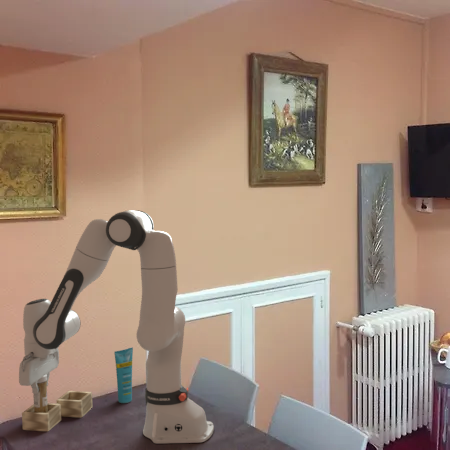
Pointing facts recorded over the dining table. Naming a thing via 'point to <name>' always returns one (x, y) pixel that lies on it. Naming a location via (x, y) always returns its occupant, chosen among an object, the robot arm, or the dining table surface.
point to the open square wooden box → (41, 418)
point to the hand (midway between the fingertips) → (40, 389)
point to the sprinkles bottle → (41, 396)
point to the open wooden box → (75, 403)
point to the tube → (124, 374)
